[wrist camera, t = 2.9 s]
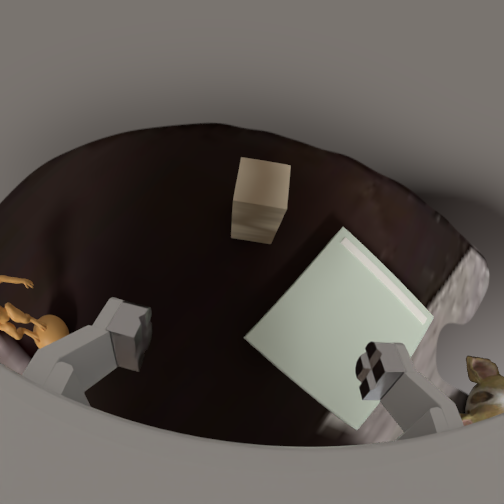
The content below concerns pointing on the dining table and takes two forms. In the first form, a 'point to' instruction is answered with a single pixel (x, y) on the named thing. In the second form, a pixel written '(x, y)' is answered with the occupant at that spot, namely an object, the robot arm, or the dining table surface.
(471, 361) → the ceramic sculpture
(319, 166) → the dining table surface
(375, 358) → the robot arm
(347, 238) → the sage board
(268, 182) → the tan block
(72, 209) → the dining table surface
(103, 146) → the dining table surface
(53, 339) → the figurine
